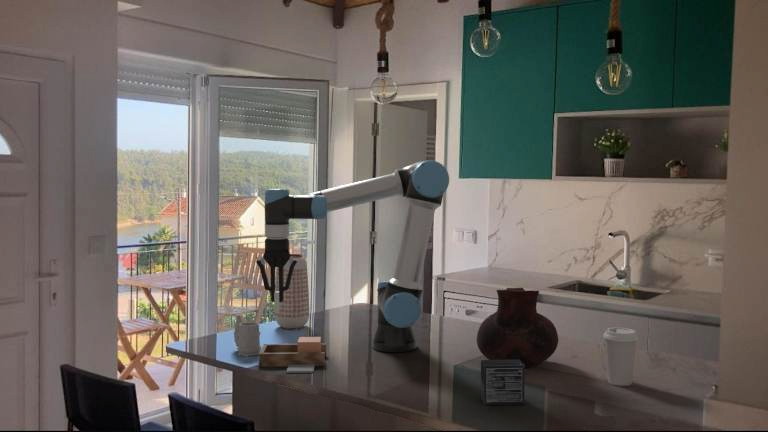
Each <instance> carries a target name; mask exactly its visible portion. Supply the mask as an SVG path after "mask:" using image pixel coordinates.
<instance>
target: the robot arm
mask: <svg viewBox="0 0 768 432" xmlns="http://www.w3.org/2000/svg"><path fill="white" fill-rule="evenodd" d="M449 185H450V175H449V172H448V170H447V169H446V167H445V166H444V165H443V164H442V163H441V162H439V161H436V160H433V159H424V160H419V161H417V162H414V163H412V164H410V165H407V166H404V167H401V168H398V169H395V170H394V171H393V173H389V174H385V175H382V176H377V177H373V178H368V179H364V180H360V181H357V182H356V181H355V182H353V183H348V184H343V185H339V186H335V187H331V188H327V189H322V190H320V191H319V190H318V191H315V192H311V193H309V192H307V193H305V194H301V195H300V194H299V195H294V194H290V191H289V189H287V188H268V189H267V190H265V191H264V237H265V239H264V253H263V256H262V257H261V258H259V259H258V260H256V265H257V266H258V267H259V270H260V274H261V278H262V283H263V287H264V289H265V291H268V292H270V302H271V303H273V305H274V306H273V309H274V310H273V313H274V314H275V313H279V312H280V302H283V292H284V291H285V290H288V289H289V286H290V282H291V278H292V274H293V270H294V266H295V265H296V263H297V260H296V259H293V258H292V257H291V255H290V254H291V253H290V239H289V238H288V237H289V236H290V224H289V223H290V222H289V221H290V219H291V220H295V219H296V220H322V219H323V220H324V219H326V218H327V216H328V213H329V212H330V213H331V212H334V211H339V210H342V209H346V208H350V207H354V206H355V207H356V206H359V205H364V204H367V203H373V202H375V201H380V200H385V199H389V198H393V197H396V196H397V197H400V198H405V199H406V201H407V203H408V208H407V213H406V217H405V220H404V221H405V222H404V228H403V231H402V235H401V241H400V244H399V245H400V246H399V250H398V255H397V259H396V263H395V269H394V273H393V276H392V277H391V278H389V279H388V280H381V281H379V282H378V284H377V289H376V292H377V327H376V330H375V332H374V335H373V338H372V348H373V350H377V351H378V352H379V351H380V352H386V353H404V352H411V351H413V350H415V349H417V339H416V335H415V332H414V329H413V325H414V324H415V323H417V321H418V320H419V319H420V317H421V312H422V304H421V299H422V295H423V289H424V288H423V286H422V284H421V277H422V273H423V267H424V263H425V258H426V255H427V250H428V244H429V240H430V235H431V231H432V228H433V227H432V226H433V222H434V217H435V213H436V210H437V209H439V208H440V207H441V206H442V202H443V198H444V193H445V192H447V190H448V188H449ZM288 260H289V261H290V262H289V264H290V268H289V272H288V276H287V280H286V284H285V286H284V281H283V269H284V266H285V264H286V263H287V262H288ZM266 263H267V265H268V266H269V268H270V269H269V270H270V283H269V279H268V275H267V272H266V268H265V267H266V266H265V264H266ZM277 267H279V291H275V284H276V268H277Z"/></svg>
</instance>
